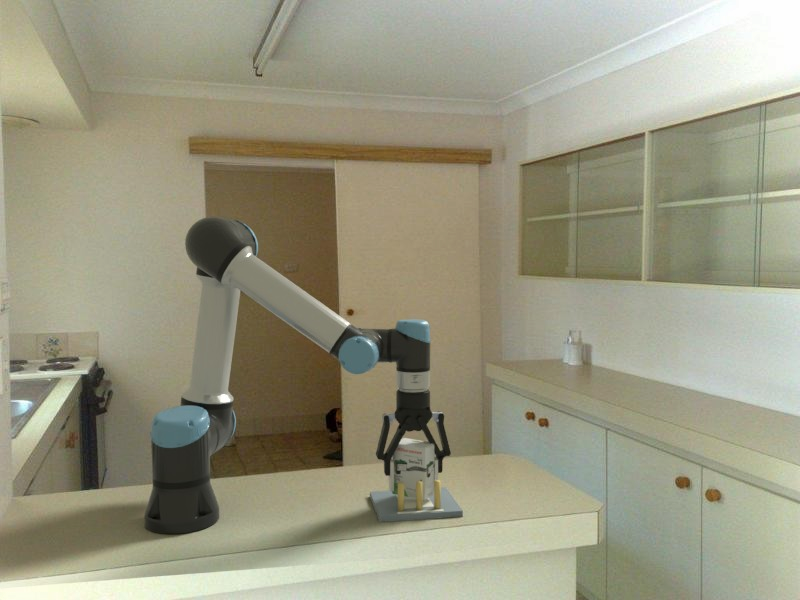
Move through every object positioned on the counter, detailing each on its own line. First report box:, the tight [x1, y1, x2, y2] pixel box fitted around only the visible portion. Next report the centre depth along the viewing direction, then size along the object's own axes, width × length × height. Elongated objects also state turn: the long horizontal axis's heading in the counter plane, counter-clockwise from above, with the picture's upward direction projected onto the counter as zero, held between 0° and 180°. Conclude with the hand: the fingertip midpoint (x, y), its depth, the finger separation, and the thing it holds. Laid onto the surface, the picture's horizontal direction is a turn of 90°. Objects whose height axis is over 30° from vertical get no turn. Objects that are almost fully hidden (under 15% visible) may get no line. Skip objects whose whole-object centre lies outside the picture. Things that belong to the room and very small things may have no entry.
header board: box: [369, 479, 464, 523], centre depth 160 cm, size 18×16×7 cm
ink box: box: [392, 437, 436, 500], centre depth 161 cm, size 9×5×12 cm, turn 61°
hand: (413, 488), depth 161 cm, fingers closed on ink box, 9 cm apart
